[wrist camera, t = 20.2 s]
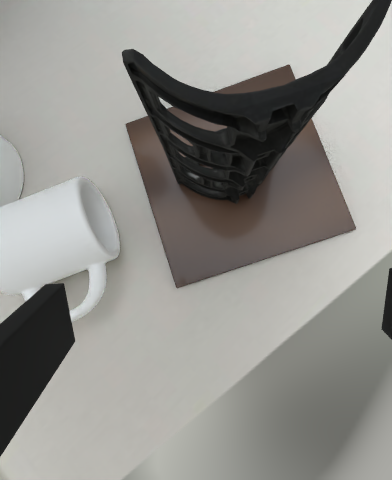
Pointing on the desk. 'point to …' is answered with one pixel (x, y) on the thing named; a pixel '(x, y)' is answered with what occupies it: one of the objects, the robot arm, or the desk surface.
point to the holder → (241, 117)
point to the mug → (57, 240)
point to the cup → (10, 173)
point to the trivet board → (241, 200)
